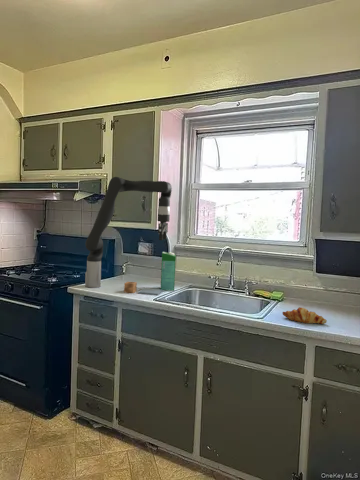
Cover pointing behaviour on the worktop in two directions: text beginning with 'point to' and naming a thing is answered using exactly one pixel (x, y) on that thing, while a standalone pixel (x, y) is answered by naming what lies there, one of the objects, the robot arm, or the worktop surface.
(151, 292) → the slate mat
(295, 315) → the croissant
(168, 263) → the milk carton
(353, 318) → the worktop surface
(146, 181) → the robot arm
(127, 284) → the wood block
